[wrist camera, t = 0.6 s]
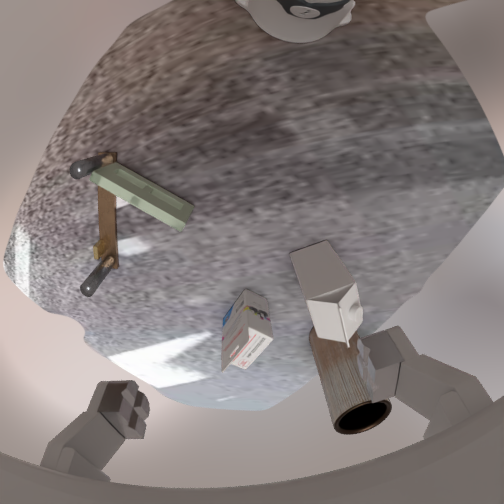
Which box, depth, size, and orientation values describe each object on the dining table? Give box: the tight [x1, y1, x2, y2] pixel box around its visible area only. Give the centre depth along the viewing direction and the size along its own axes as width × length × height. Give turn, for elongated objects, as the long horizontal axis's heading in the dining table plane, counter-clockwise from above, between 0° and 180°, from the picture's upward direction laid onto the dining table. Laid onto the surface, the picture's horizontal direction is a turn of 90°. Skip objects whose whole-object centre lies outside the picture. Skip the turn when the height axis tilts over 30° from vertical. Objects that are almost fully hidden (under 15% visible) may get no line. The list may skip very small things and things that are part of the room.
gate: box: [89, 162, 195, 232], centre depth 41 cm, size 15×1×8 cm, turn 58°
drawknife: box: [70, 152, 119, 297], centre depth 42 cm, size 21×3×11 cm, turn 173°
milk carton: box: [290, 240, 363, 347], centre depth 44 cm, size 7×7×19 cm
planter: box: [309, 327, 392, 434], centre depth 50 cm, size 10×10×23 cm
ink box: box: [221, 289, 274, 373], centre depth 50 cm, size 8×5×15 cm, turn 148°
